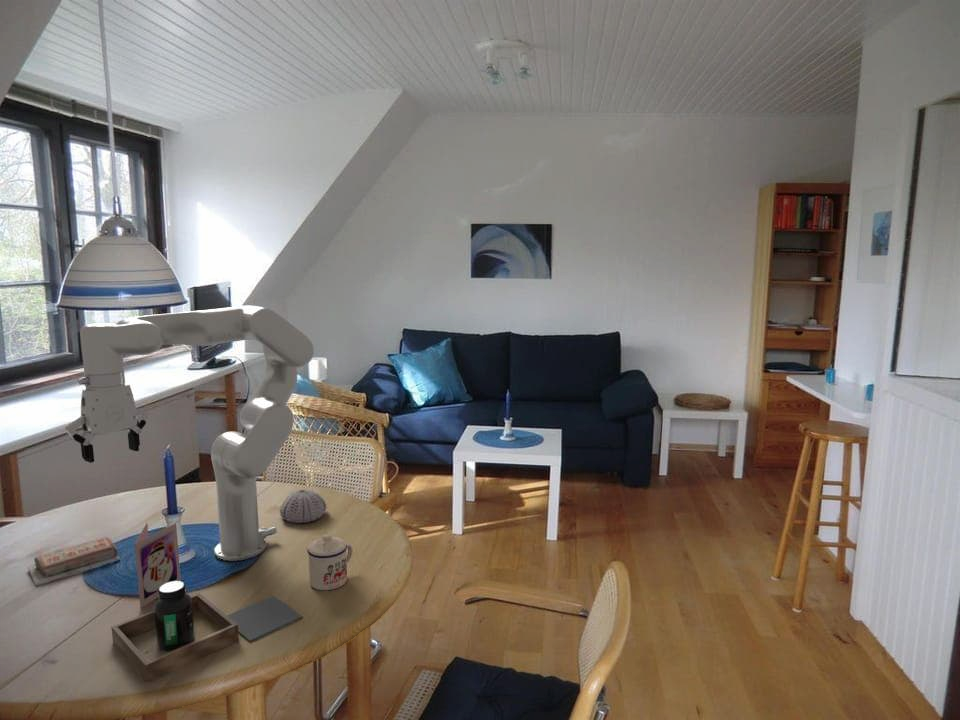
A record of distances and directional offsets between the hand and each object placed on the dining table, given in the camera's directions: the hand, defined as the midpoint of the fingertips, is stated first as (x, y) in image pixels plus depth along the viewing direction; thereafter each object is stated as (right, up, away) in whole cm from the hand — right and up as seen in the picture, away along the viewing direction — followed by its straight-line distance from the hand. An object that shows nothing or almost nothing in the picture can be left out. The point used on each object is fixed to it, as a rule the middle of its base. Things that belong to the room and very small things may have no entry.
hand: (112, 455), depth 144 cm
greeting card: (+7, -32, +4) cm, 33 cm away
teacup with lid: (+47, -31, +11) cm, 57 cm away
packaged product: (-19, -30, +17) cm, 39 cm away
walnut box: (+21, -35, -14) cm, 43 cm away
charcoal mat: (+35, -34, -6) cm, 49 cm away
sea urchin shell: (+30, -25, +46) cm, 61 cm away
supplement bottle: (+21, -36, -14) cm, 43 cm away
